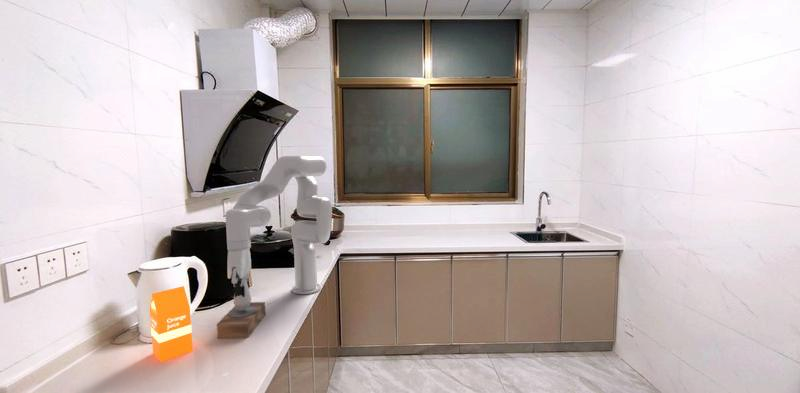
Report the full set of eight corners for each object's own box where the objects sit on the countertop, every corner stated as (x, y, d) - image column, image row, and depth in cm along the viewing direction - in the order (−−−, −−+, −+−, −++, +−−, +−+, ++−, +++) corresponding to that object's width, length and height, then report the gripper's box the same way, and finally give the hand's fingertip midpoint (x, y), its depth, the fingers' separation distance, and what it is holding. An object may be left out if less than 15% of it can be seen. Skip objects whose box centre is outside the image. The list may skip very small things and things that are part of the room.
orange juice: (193, 350, 115) (188, 288, 113) (160, 362, 108) (155, 297, 106) (184, 342, 120) (179, 283, 118) (152, 353, 113) (147, 290, 111)
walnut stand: (239, 315, 140) (238, 301, 140) (265, 314, 141) (264, 300, 140) (217, 338, 122) (216, 322, 122) (248, 337, 123) (247, 322, 122)
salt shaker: (246, 302, 135) (244, 268, 134) (254, 306, 131) (252, 271, 130) (230, 307, 131) (228, 272, 129) (238, 312, 127) (236, 275, 125)
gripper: (237, 239, 136) (240, 286, 138) (217, 250, 120) (221, 304, 122) (258, 238, 137) (260, 286, 139) (240, 250, 120) (244, 304, 122)
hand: (242, 294), depth 130 cm, fingers closed on salt shaker, 3 cm apart
